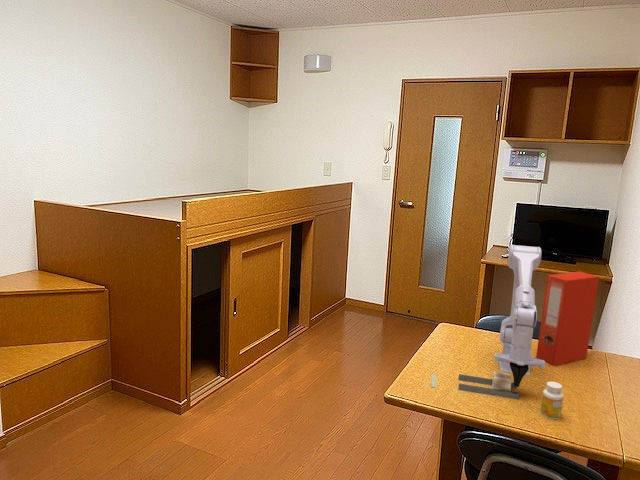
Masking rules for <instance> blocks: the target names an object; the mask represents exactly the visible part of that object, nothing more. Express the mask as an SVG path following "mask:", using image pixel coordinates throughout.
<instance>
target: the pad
mask: <svg viewBox="0 0 640 480" xmlns="http://www.w3.org/2000/svg"><path fill="white" fill-rule="evenodd" d="M430 383H431V384H430V388H434V389H436V386H437V374H433V373H432V376H431V382H430Z"/></svg>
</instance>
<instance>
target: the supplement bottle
mask: <svg viewBox="0 0 640 480" xmlns="http://www.w3.org/2000/svg"><path fill="white" fill-rule="evenodd" d="M562 389H563V385H562V384H561V383H559V382H555V381H547V382H546V388H545V389H544V390H543V391H542V398H541V404H540V414H541V416H543V417H545V418H547V419H551V420H559V419H560V418H561V416H562V410H563V403H564V402H563V401H564V393H563V392H562Z"/></svg>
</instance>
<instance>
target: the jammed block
mask: <svg viewBox="0 0 640 480" xmlns="http://www.w3.org/2000/svg"><path fill="white" fill-rule="evenodd" d="M492 379H493V380H492V385H491V389H497V390H504V391H510V392H511V389H512V388H511V382H512V377H511V374H510V373H509V372H502V371H493V373H492Z"/></svg>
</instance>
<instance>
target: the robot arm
mask: <svg viewBox="0 0 640 480" xmlns="http://www.w3.org/2000/svg"><path fill="white" fill-rule="evenodd" d="M507 257H508V260H507V265H508V268H509V269H511V270H512V271H513V275H514V276H513V277H514V279H513V288H512V298H511V309H510V315H509V316H508V317H506V318H504V319H502V321H501V326H500V332H499V342H501V343H502V353H494V355H493V356H494V358H493V360H494V362H497V363H498V364H499V366H498V367H499V370H500V371H499V372H503V373H512V376H513V382H514V386H515V387H518V388H519V387H520V385H521V382H522V380H523V378H524V377H525V375H527V376H530V374H531V373H530V372H531V367H537V368H540V369H545V367H546V362H545V361H544V360H540V359H538V358H537V357H536V358H535V357H532V353H533V352H532V351H533V350H532V343H533V342H532V341H533V336H534V328H535V327H536V325H537V321H538V311H537V310H538V309H537V306H536V305H535V304H536V293H535V292H536V291H535V289H534V288H533V287H532V279H533V271H536V270H537V269H538V268H539V265H540V264H541V262H542V248H541V247H540V246H527V245H516V244H511V245H510V246H509V250H508V256H507Z"/></svg>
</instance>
